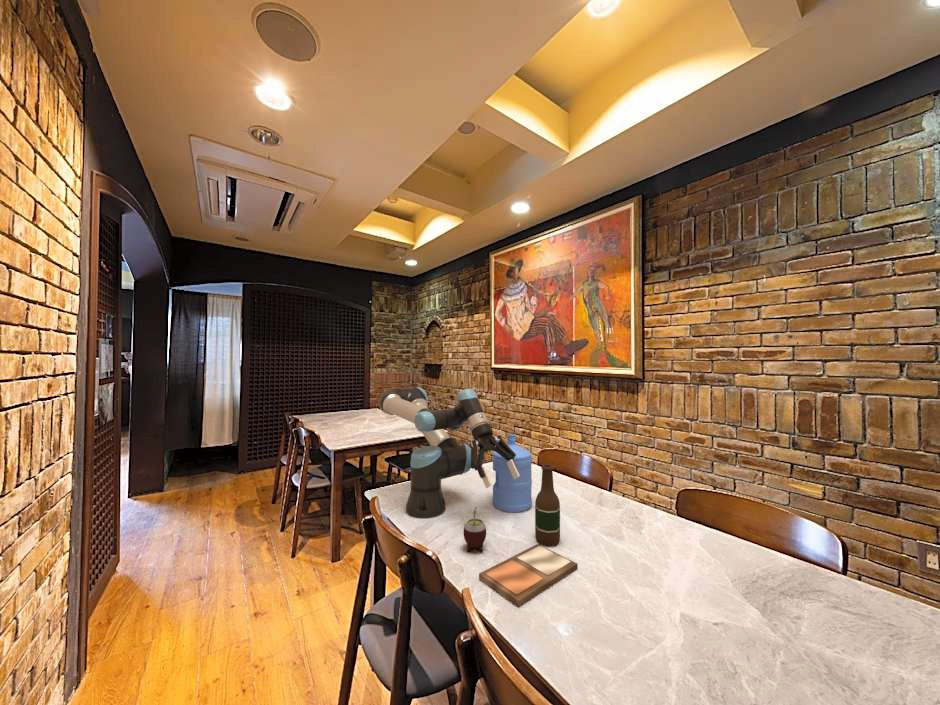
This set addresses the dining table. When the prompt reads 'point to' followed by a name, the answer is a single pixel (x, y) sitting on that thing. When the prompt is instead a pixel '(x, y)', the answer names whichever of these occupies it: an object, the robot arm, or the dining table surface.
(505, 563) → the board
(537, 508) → the beer bottle
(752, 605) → the dining table surface
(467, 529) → the mate gourd
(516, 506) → the water jug
